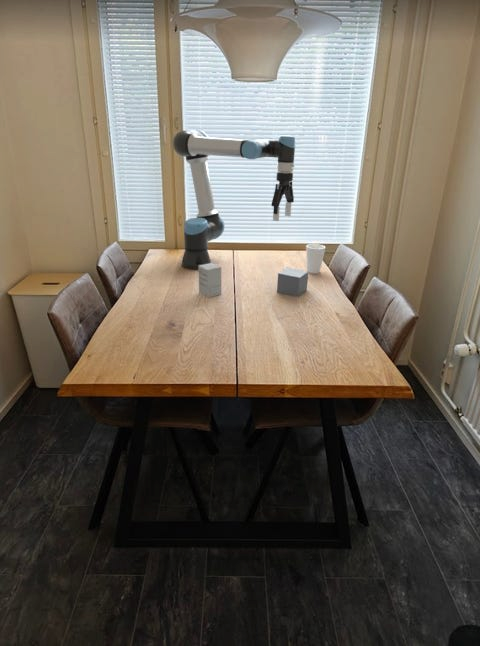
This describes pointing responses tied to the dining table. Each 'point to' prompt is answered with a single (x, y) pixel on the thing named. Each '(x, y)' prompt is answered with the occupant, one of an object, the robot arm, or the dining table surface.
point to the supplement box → (209, 279)
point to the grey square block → (292, 281)
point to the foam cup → (314, 257)
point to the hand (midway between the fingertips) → (281, 218)
